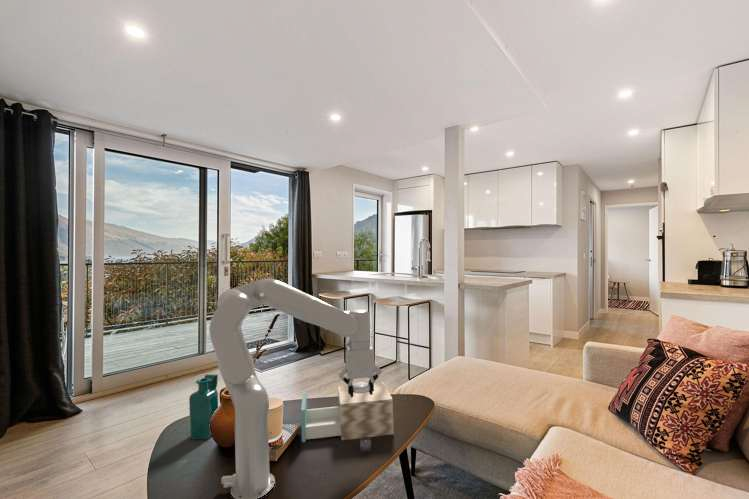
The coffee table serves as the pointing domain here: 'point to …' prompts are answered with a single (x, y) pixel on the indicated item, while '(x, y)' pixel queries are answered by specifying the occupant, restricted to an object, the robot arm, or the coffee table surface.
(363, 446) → the stand
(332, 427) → the drawer
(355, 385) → the disc
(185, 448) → the coffee table surface
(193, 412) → the teal bottle vase
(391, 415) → the cabinet
